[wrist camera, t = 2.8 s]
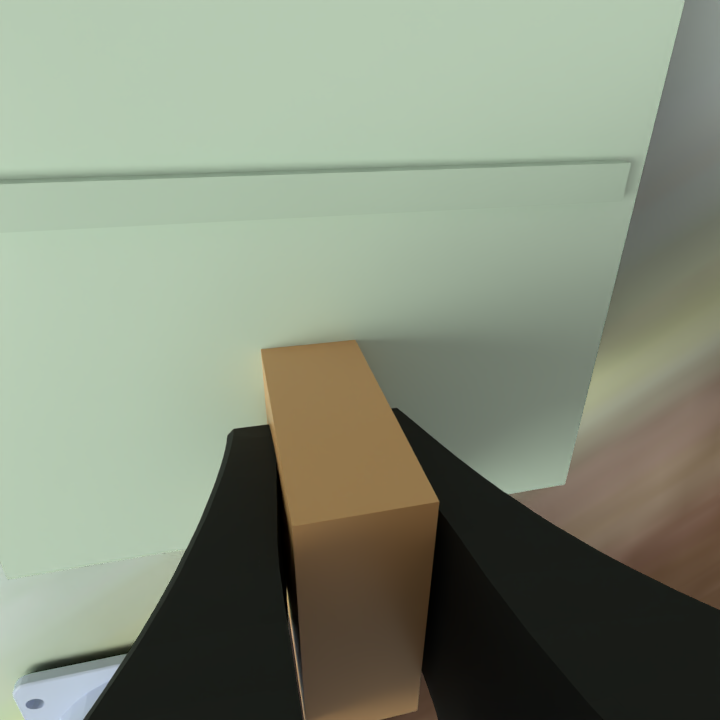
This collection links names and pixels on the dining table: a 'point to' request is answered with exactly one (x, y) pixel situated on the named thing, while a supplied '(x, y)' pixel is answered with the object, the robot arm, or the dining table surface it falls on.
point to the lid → (307, 278)
